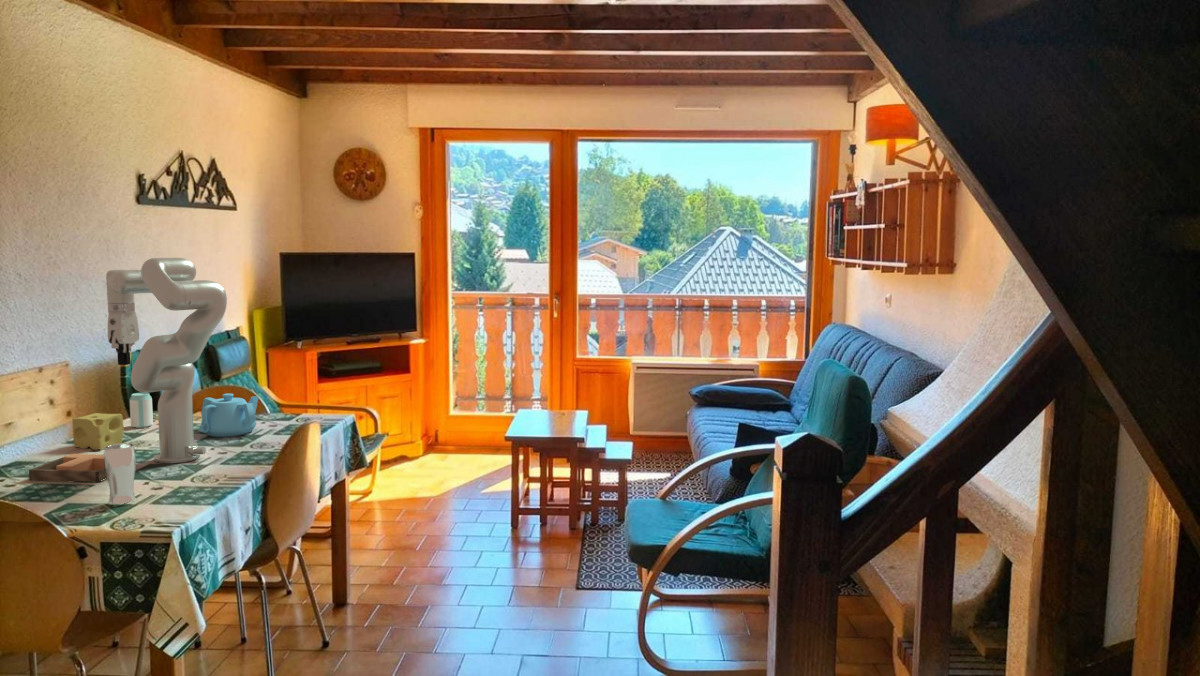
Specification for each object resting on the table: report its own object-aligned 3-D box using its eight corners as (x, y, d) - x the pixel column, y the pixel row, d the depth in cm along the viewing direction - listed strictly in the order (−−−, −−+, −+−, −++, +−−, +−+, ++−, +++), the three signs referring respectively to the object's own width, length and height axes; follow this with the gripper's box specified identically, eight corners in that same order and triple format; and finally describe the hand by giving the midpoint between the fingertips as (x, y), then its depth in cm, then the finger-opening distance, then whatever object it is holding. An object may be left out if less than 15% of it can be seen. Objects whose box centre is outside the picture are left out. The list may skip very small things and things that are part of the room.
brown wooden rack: (132, 467, 246) (131, 457, 245) (99, 482, 230) (98, 471, 230) (66, 465, 246) (65, 455, 246) (29, 480, 231) (28, 470, 230)
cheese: (100, 450, 264) (98, 420, 263) (71, 448, 267) (69, 418, 265) (124, 443, 275) (123, 413, 273) (97, 440, 277) (95, 411, 276)
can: (131, 425, 300) (130, 392, 299) (153, 423, 303) (152, 391, 302) (130, 429, 294) (128, 396, 292) (152, 427, 297) (150, 394, 295)
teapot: (253, 436, 286) (252, 397, 284) (193, 440, 280) (191, 400, 279) (259, 425, 304) (258, 388, 302) (202, 428, 298) (201, 390, 297)
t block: (118, 468, 244) (117, 455, 244) (88, 480, 231) (87, 467, 231) (73, 466, 245) (72, 453, 245) (41, 479, 232) (40, 465, 232)
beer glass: (143, 498, 216) (140, 442, 215) (128, 507, 210) (125, 449, 208) (116, 498, 216) (113, 442, 214) (101, 506, 209) (97, 449, 208)
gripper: (118, 310, 258) (121, 368, 260) (146, 306, 272) (148, 361, 275) (95, 309, 258) (98, 367, 260) (123, 306, 273) (126, 361, 275)
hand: (124, 364), depth 267 cm, fingers closed
